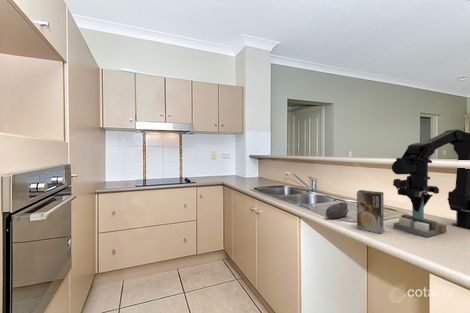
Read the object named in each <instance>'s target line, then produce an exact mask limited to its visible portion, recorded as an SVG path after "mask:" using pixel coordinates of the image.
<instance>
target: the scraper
mask: <svg viewBox="0 0 470 313" xmlns="http://www.w3.org/2000/svg"><path fill="white" fill-rule="evenodd" d="M411 206H412V210H411V211H412V215H409V214H406V213H405V214H401V217H404V218H408V219H412V220H413V223H414V222H416V221H418V222H422V223H426V224H429V227H431V228H433V227H436V222H437V221H436V220H432V219H428V218H425V217H424V213H425V212H424V210H425V206H424V200H423V202H422V204H421V207H420V209H419V211H418V212H416V211H415V210H414V208H413V205H412V204H411ZM401 217H400V218H401Z"/></svg>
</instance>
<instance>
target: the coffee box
mask: <svg viewBox="0 0 470 313" xmlns="http://www.w3.org/2000/svg"><path fill="white" fill-rule="evenodd" d="M384 218H385V216H384V191H374V190H365V189H364V190H362V189H359V190H358V191H356V229H357V230H361V231H367V232H371V233H377V234H383V232H384V231H385V228H384V224H385V223H384Z"/></svg>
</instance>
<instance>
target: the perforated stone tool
mask: <svg viewBox="0 0 470 313" xmlns="http://www.w3.org/2000/svg"><path fill="white" fill-rule="evenodd" d="M348 213H349V208H348V203H347V202H338V203H337V202H336V203H334V204H332V205H329V207H327V209H326V211H325V216H326V217H327V218H328V219H340V218H343V217H346V216H348Z"/></svg>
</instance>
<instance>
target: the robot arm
mask: <svg viewBox="0 0 470 313" xmlns="http://www.w3.org/2000/svg"><path fill="white" fill-rule="evenodd" d="M447 144H450V145H452V146H453V151H454V152H455V153H456V155H457V161H458V160H470V132H466V131H463V130H461V129H449V130H445V131H444V132H442V133H440V134H439V135H436V136H434V137H432V138H430V139H428V140H426V141H421V142H415V143H412V144H409V145H408V146H407V149H406V150H405V152H404V153H403V154H402V156H401V157H396V159H395V161H394V162H393V163H392V165H391V170H392V172H393V173H394V174H395V175H398V176H399V175H407V176H406V179H402V180H401V179H400V178H395V179H393V180H392V186H394V187H395V188H396V189H397V195H399V196H406V197H407V198H408V199H409V200H410V202H411V206H412V205H413V208H414V210H415V211H416V212H418V211H419V209H420V207H421V204H422V202H423V200H424V207H425V206H426V205H427V204H428V202H429V200H430V199H431V198H432V197H433V194H440V188H439V187H438V186H435V185H428V184H429V182H428V181H429V180H431V176H429V164H432V163H433V161H432V160H431V159H430V158H429V157H431V156H432V155H433V154H435V152H436V150H437V149H439V148H441V147H443V146H446V145H447ZM455 175H456V176H455V188H453V190H451V191H448V193H447V194H448V197H447V203H448V205H449V210H450V211H455V212H456V213H455V214H456V216H455V220H456V222H453V223H452V226H456V227H460V228H465V229H468V230H470V169H465V168H457V167H456V174H455ZM429 193H433V194H429Z"/></svg>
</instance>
